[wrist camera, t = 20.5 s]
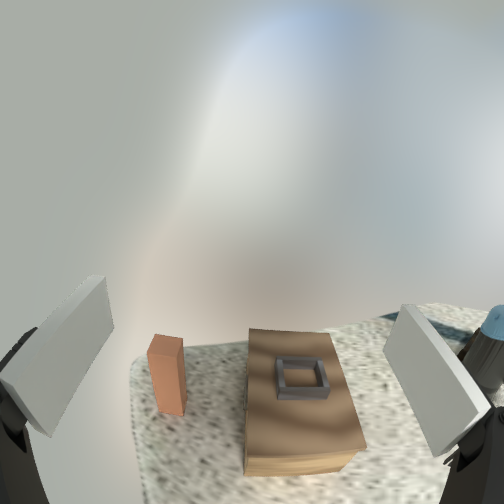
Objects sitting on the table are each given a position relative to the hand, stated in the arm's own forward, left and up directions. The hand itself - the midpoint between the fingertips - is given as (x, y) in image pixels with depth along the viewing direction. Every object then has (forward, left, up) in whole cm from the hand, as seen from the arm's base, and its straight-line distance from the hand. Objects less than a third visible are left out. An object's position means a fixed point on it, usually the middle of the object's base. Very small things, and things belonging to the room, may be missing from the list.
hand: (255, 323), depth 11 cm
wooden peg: (-5, -19, -32) cm, 38 cm away
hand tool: (-69, +24, -32) cm, 80 cm away
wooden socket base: (-19, -6, -32) cm, 37 cm away
